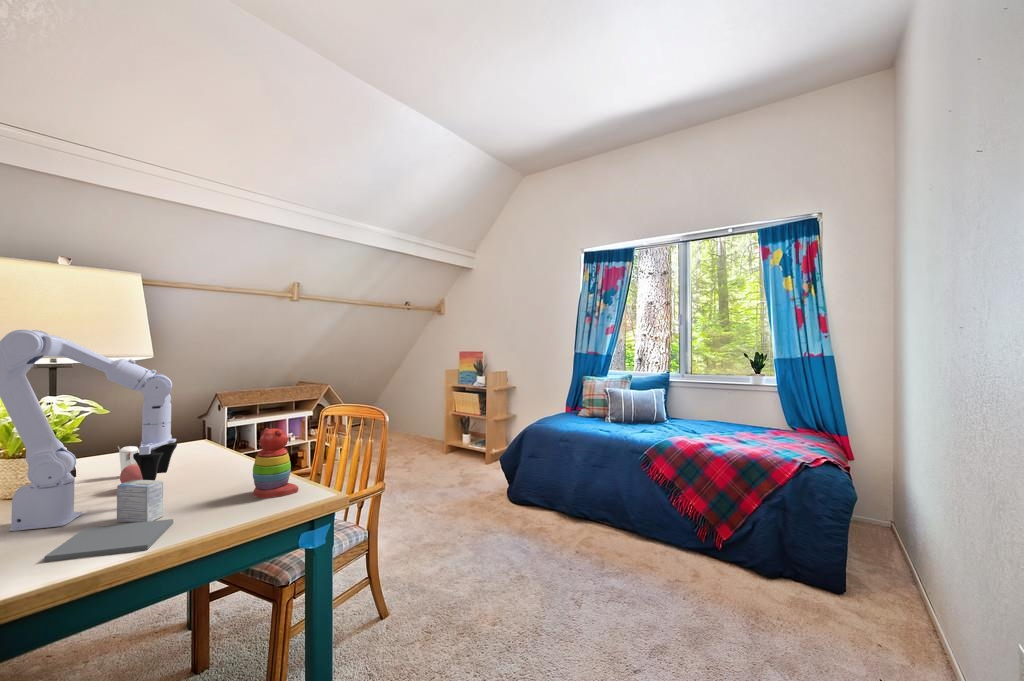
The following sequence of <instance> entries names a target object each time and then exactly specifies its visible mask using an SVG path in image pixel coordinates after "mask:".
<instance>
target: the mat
mask: <svg viewBox="0 0 1024 681" xmlns="http://www.w3.org/2000/svg"><path fill="white" fill-rule="evenodd" d="M173 524H174V519H173V518H171V519H160V520H158V519H157V520H154V521H148V522H138V523H133V522H127V523H120V524H118V523H117V524H110V525H100V526H99V525H98V526H89V527H84V528H83V529H82V530H80V531H79V532H77V533H76V534H74V535H73V536H71V537H70V538H68V539H67V540H66V541H65V542H63V543H62V544H60V545H58V546H57V547H56V548H54V549H53V550H52V551H50V552H49V553H47V554H46V555H44V556H43V557H44V558H43V562H45V563H46V562H54V561H63V560H71V559H82V558H88V557H97V556H98V557H99V556H106V555H114V554H116V555H117V554H123V553H132V552H140V551H149V549H150V548H151V547H152V546H153V545H154V544H156V542H157V541H158V540H159V539H160V538H161V537H162V535H164V534H165V533H166V532H167V531H168V530H169V529H170V528H171V526H172V525H173Z"/></svg>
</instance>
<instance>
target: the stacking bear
mask: <svg viewBox="0 0 1024 681" xmlns="http://www.w3.org/2000/svg"><path fill="white" fill-rule="evenodd" d="M288 443H289V436H288V435H287V434H286V432H285V431H284V430H283V429H279V428H268V427H266V428H264V429H263V430H262V434H260V437H259V445H260V448H261V449H260V450H259V451H258V452H257V455H256V456H255V458H254V459H255V460H254V464H253V467H252V478H253V484H254V486H255V487H254V489H253V491H252V492H253V493H252V495H253V496H254V497H255V498H259V499H268V498H269V499H270V498H276V497H277V498H278V497H283V496H288V495H291V494H295V493H297V492H298V491H299V489H300V488H299V486H298V485H297V484H294V483H291V482H290V483H289V479H290V476H291V470H292V469H291V467H292V464H291V460H290V455H289V451H288V449H287V448H286V446H287V444H288Z"/></svg>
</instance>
